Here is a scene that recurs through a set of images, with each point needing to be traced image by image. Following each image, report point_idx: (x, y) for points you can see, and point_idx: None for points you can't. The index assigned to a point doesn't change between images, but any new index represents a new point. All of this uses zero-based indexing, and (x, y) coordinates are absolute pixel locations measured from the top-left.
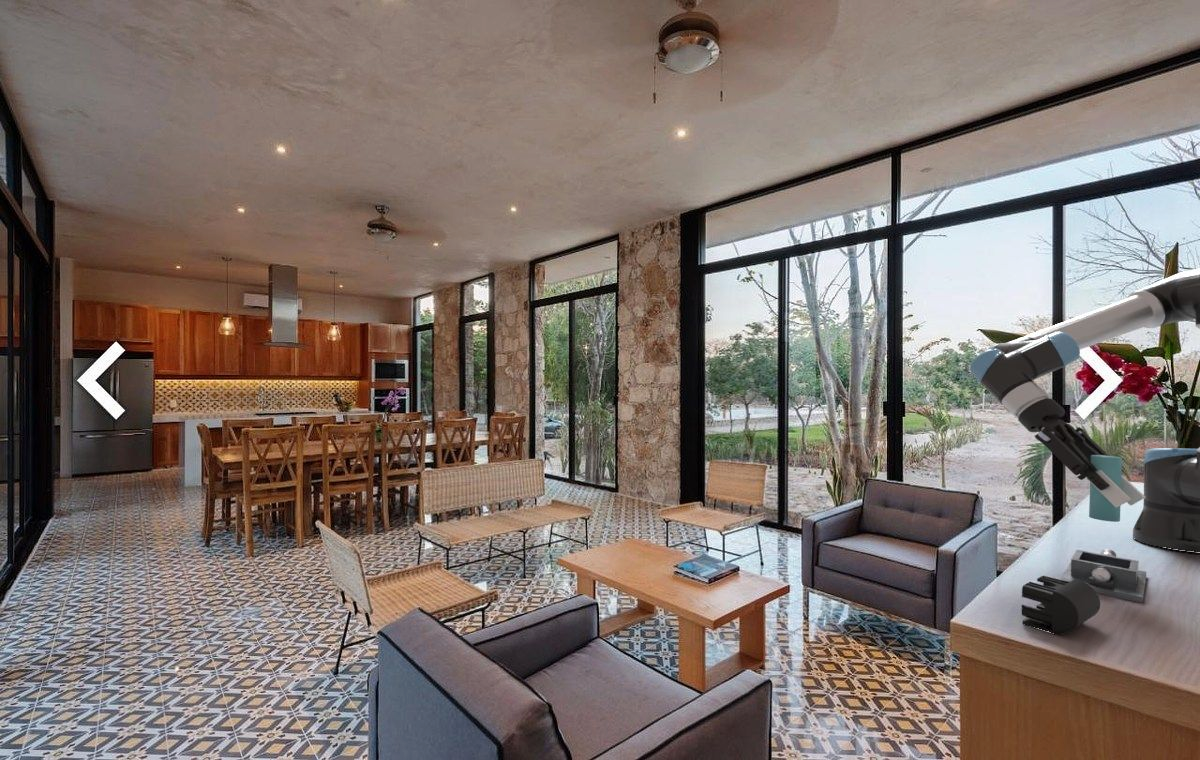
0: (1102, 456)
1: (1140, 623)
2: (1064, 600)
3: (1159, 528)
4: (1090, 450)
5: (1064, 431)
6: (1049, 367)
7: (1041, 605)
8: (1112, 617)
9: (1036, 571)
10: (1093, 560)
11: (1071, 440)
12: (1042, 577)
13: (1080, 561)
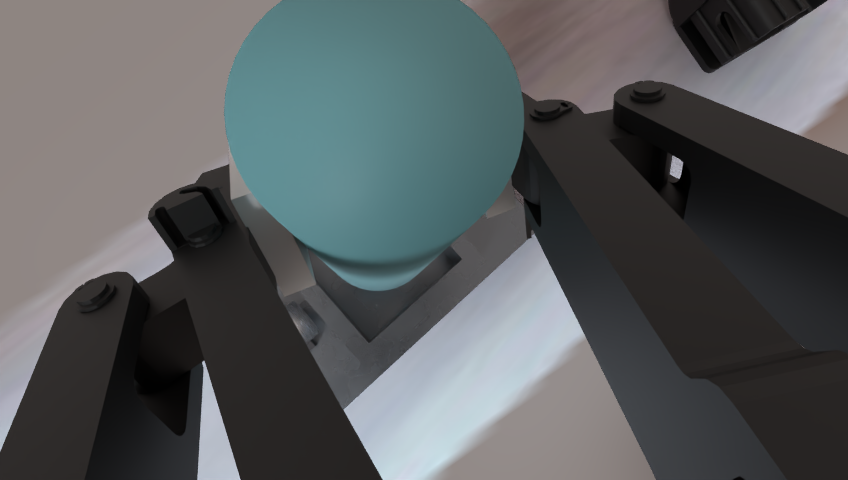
0: (422, 115)
1: (545, 10)
2: None
3: None
4: (329, 386)
5: None
6: None
7: (743, 44)
8: (579, 40)
9: (517, 338)
10: (350, 320)
11: (801, 362)
12: (790, 13)
13: (470, 243)
